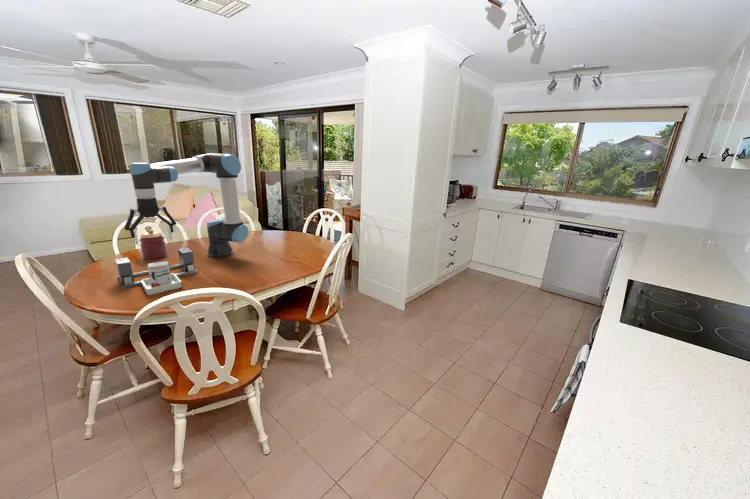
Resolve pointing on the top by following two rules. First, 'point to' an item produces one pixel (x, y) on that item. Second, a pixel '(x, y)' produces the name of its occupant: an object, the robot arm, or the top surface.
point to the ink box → (159, 273)
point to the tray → (174, 285)
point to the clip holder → (128, 277)
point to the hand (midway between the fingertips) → (154, 241)
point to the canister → (153, 245)
